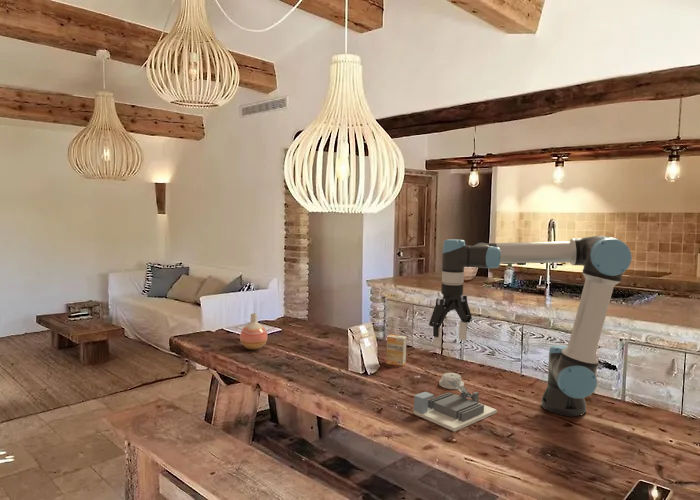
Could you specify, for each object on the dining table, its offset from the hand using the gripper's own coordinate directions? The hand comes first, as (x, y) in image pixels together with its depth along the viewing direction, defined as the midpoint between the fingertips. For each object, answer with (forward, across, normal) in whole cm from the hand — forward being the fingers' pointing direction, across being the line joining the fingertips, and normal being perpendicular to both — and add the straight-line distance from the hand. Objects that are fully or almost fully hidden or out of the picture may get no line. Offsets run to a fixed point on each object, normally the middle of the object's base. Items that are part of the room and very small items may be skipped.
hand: (450, 342), depth 179 cm
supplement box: (+25, -22, -50) cm, 60 cm away
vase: (+26, +19, -111) cm, 115 cm away
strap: (+17, -2, +3) cm, 17 cm away
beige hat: (+26, -22, -16) cm, 37 cm away
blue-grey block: (+24, +8, -4) cm, 26 cm away
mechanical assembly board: (+25, -1, +3) cm, 25 cm away
